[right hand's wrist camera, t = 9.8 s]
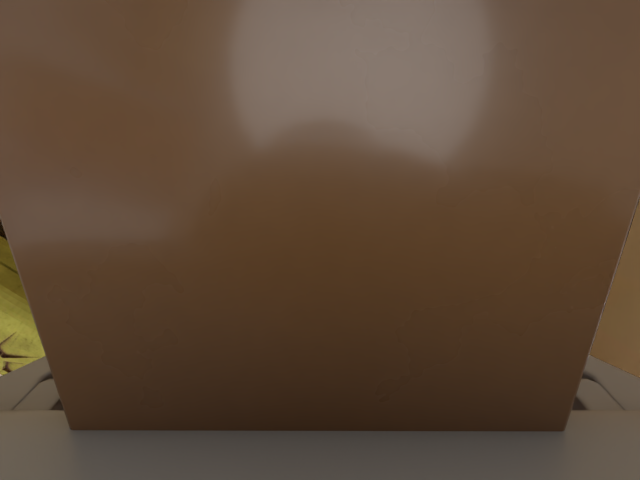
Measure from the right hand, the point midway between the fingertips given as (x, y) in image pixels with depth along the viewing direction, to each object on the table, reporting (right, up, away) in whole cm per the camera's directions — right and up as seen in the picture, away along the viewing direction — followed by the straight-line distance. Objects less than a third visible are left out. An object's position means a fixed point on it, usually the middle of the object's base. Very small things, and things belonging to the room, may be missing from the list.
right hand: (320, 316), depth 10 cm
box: (0, +10, 0) cm, 10 cm away
